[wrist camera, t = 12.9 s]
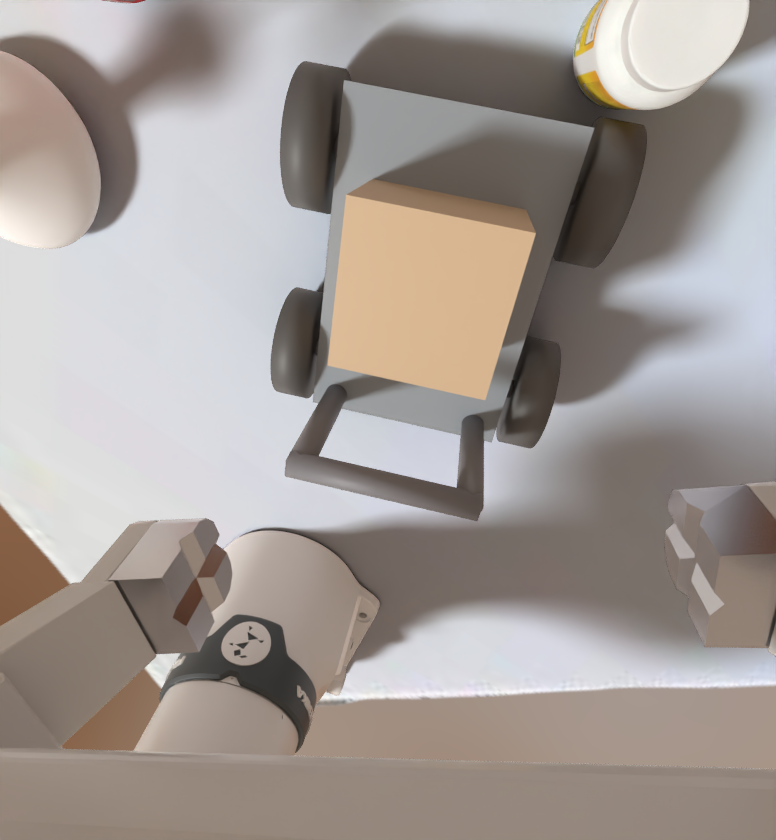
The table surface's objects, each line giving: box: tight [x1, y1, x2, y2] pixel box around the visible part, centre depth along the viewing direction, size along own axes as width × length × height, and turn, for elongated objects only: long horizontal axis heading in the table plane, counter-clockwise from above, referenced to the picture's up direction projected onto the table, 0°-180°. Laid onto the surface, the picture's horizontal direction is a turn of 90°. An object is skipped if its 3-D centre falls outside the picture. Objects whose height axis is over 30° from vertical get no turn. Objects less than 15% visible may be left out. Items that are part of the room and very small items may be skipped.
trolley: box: [271, 61, 647, 521], centre depth 28 cm, size 19×17×14 cm
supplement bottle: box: [573, 0, 750, 110], centre depth 23 cm, size 5×5×10 cm
